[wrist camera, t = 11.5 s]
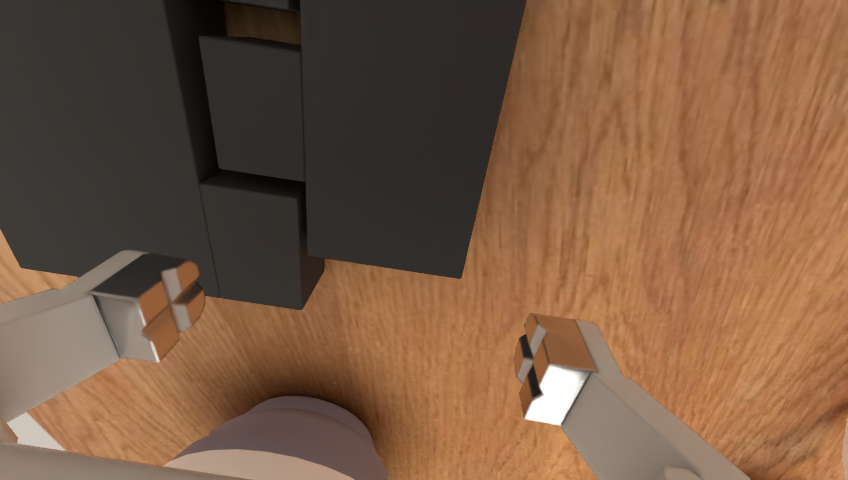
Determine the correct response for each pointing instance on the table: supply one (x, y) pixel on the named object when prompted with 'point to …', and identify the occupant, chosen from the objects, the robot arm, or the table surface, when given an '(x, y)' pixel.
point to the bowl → (287, 444)
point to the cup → (845, 452)
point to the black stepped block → (372, 121)
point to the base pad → (136, 150)
